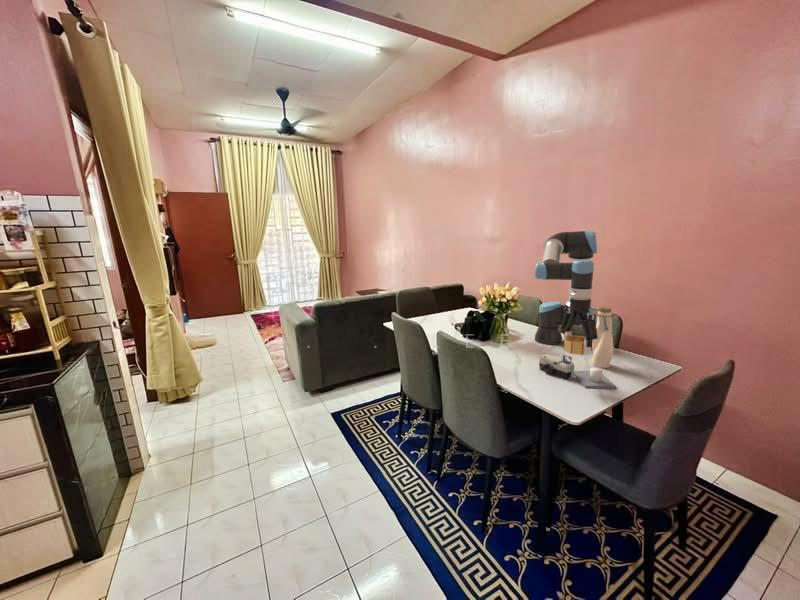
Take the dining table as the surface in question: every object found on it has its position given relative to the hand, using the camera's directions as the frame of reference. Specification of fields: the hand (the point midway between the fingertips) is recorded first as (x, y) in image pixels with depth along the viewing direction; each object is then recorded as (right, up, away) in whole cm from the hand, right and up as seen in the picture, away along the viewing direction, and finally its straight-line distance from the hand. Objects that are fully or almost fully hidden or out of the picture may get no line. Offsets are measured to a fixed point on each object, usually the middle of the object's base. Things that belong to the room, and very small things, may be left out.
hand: (576, 349), depth 136 cm
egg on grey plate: (+10, -14, +5) cm, 18 cm away
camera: (-3, -13, +13) cm, 19 cm away
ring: (0, 0, 0) cm, 0 cm away
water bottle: (+23, -11, +20) cm, 32 cm away
